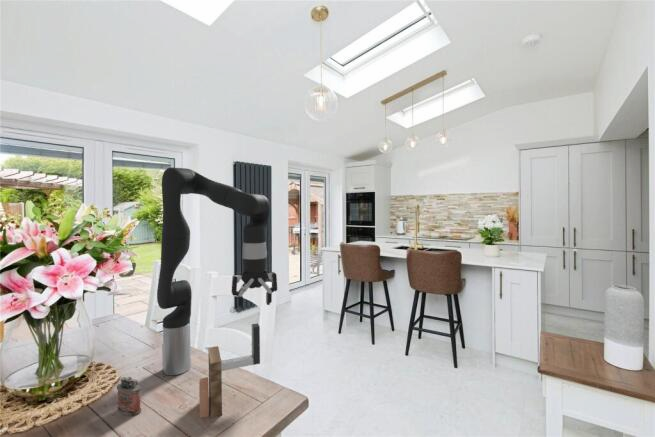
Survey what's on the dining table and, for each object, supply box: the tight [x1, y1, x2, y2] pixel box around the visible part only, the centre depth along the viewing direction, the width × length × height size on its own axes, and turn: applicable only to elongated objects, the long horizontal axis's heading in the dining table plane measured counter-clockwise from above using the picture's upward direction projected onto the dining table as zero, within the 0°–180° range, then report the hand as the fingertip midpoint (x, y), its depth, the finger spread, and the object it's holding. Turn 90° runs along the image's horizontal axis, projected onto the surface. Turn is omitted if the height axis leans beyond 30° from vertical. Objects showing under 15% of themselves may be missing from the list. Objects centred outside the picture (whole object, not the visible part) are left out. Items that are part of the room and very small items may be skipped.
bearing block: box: [207, 346, 223, 419], centre depth 95 cm, size 3×11×16 cm, turn 24°
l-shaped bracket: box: [221, 323, 261, 372], centre depth 98 cm, size 14×3×12 cm, turn 114°
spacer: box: [198, 376, 210, 419], centre depth 94 cm, size 2×8×8 cm, turn 22°
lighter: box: [116, 376, 142, 417], centre depth 93 cm, size 8×3×10 cm, turn 70°
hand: (254, 306), depth 101 cm, fingers open, 8 cm apart
